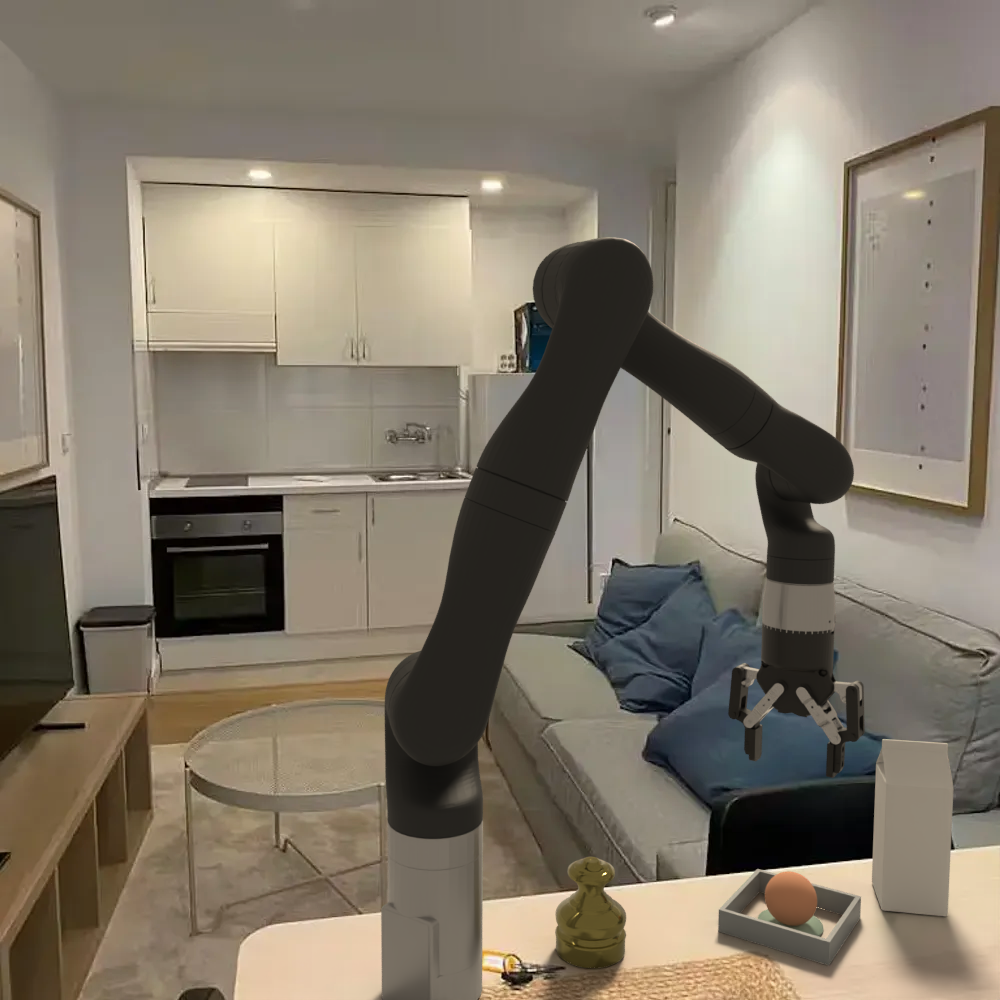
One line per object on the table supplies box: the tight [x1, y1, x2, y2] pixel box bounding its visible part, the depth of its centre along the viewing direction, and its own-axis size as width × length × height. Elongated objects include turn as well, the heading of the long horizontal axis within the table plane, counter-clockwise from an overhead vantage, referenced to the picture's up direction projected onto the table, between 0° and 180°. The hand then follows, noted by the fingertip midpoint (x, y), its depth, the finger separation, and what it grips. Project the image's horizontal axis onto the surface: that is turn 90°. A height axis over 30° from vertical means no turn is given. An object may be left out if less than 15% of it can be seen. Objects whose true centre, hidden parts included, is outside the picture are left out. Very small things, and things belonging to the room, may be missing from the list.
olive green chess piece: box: [554, 856, 627, 969], centre depth 106 cm, size 7×7×10 cm
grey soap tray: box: [717, 868, 862, 966], centre depth 112 cm, size 12×12×2 cm
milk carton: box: [871, 738, 955, 917], centre depth 117 cm, size 7×7×19 cm
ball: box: [764, 870, 817, 926], centre depth 112 cm, size 6×6×6 cm
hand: (792, 767), depth 110 cm, fingers open, 8 cm apart
